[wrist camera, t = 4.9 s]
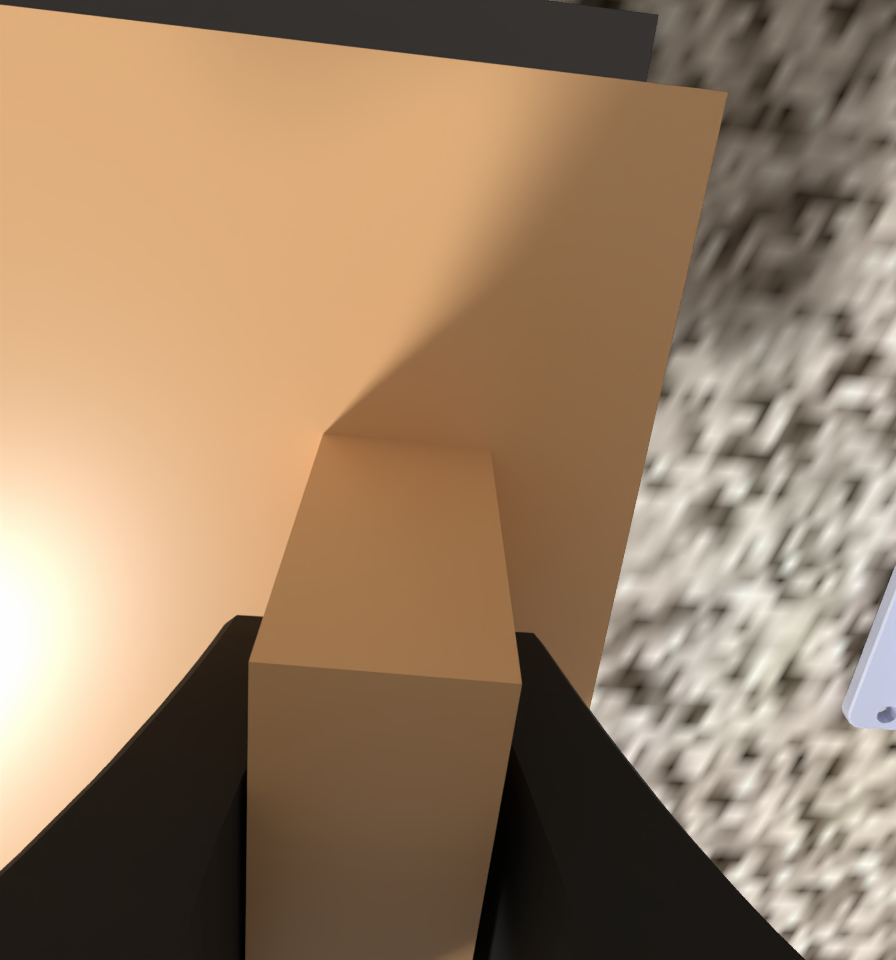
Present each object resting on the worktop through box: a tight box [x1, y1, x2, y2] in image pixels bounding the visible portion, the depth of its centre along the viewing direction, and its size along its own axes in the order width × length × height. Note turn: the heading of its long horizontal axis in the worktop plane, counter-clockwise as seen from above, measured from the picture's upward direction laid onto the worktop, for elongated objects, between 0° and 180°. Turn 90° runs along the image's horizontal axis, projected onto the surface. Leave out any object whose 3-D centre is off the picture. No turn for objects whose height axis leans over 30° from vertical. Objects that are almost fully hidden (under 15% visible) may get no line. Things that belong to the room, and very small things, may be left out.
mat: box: [0, 0, 658, 82], centre depth 17 cm, size 20×14×1 cm
